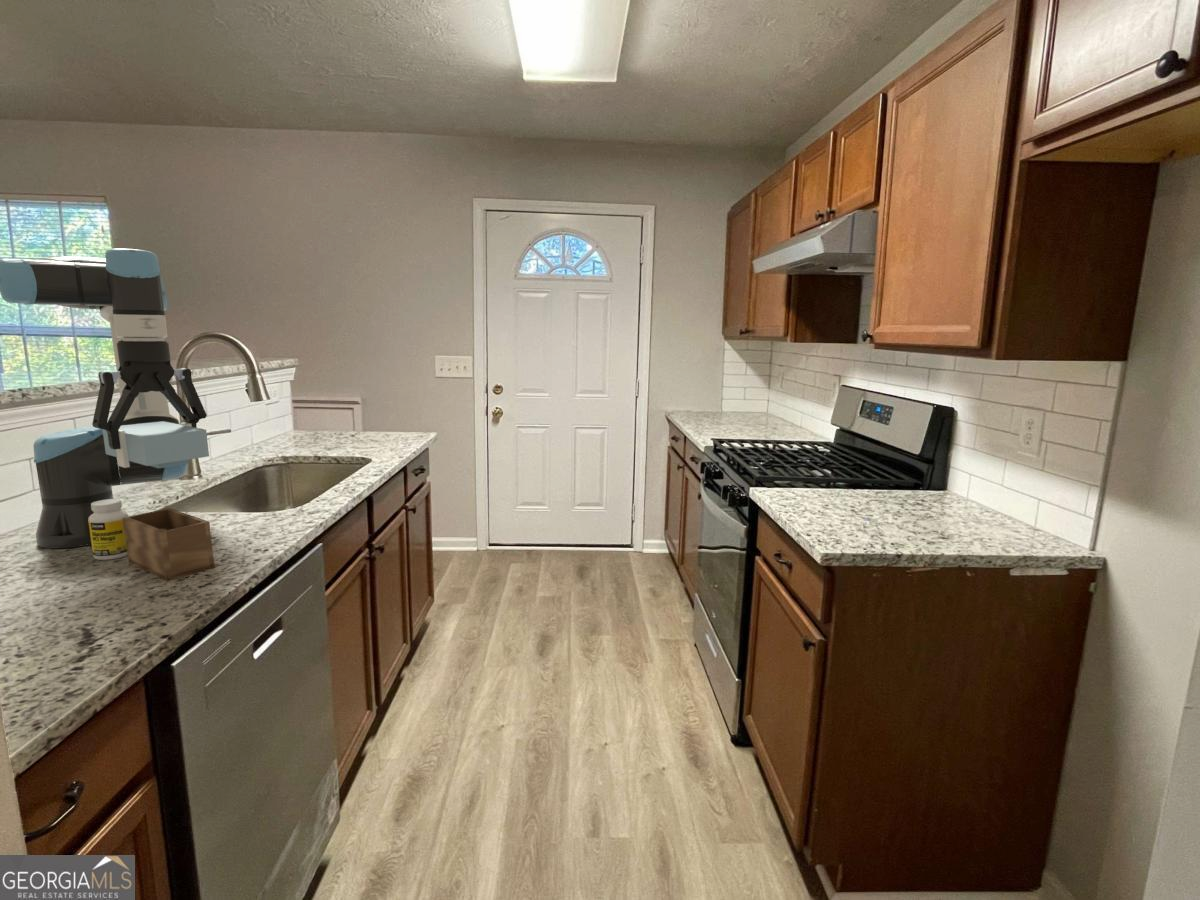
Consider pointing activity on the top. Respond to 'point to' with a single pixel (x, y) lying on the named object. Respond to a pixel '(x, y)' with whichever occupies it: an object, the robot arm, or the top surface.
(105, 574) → the top surface
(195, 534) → the box
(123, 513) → the pill bottle
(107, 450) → the light blue block
